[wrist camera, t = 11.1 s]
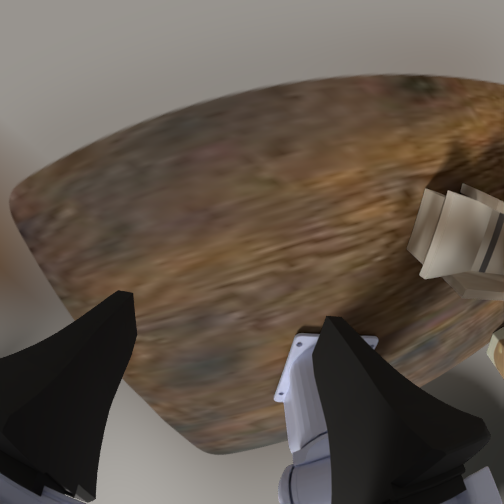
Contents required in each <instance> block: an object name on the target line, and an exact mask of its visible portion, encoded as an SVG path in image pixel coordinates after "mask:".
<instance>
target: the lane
mask: <svg viewBox="0 0 504 504" xmlns="http://www.w3.org/2000/svg"><path fill="white" fill-rule="evenodd" d="M460 193H462V194H465V195H467V196H469V197H467V196H464V195H461V194H458V193H455V192H452V191H449V190H448V192H447V196H445V195H443V194H441V193H439V192H436V191H433V190H430V189H427V188H425V191H424V195H423V198H422V202H421V205H420V209H419V212H418V215H417V219H416V222H415V225H414V228H413V231H412V234H411V237H410V240H409V243H408V246H407V250H408V251H409V252H410V253H411V254H412V255H413V256H414V257H415V258H416V259H417V260H418V261H420V262H421V263H422V264H423V267H422V269H421V272H420V274H419V275H420V276H421V277H422V278H424V279H430V278H436V277H442V278H443V279H444V280H445V281H446V282H447V283H448V284H449V285H450V286H451V287H452V288H453V289H454V290H455V291H456V292H457V293H458V295H459V296H460V297H461V298H468V299H485V300H504V202H503V201H501V200H499V199H497V198H495V197H493V196H491V195H488V194H486V193H484V192H482V191H480V190H477V189H475V188H473V187H470V186H468V185H466V184H463V183H462V187H461V191H460ZM470 197H471V198H470Z"/></svg>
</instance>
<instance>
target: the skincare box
mask: <svg viewBox="0 0 504 504" xmlns="http://www.w3.org/2000/svg"><path fill="white" fill-rule="evenodd" d="M487 355H488V356H489V358H490V359H491V361H492V362H493V364H494V365H495V367H496V368H497V369H498V371H499V373H500V374H501V376H502V377H503V379H504V327H502V328H501V329H499V330H498V331H496V332H494V333H493V335H492V338H491V341H490V344H489V347H488V350H487Z"/></svg>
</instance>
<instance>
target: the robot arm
mask: <svg viewBox="0 0 504 504" xmlns="http://www.w3.org/2000/svg"><path fill="white" fill-rule="evenodd" d="M136 337H137V328H136V319H135V309H134V298H133V293H131V292H125V291H119V290H118V291H116V292H115V293H113V294H112V295H111V296H109V297H108V298H106V299H105V300H104V301H102V302H101V303H100V304H98V305H97V306H96V307H94V308H93V309H91V310H90V311H89V312H87V313H86V314H84V315H83V316H82V317H80V318H79V319H77V320H76V321H74V322H73V323H71V324H70V325H68V326H67V327H65V328H64V329H62V330H60V331H59V332H58V333H55V334H54V335H52V336H50V337H49V338H47V339H45V340H43V341H41V342H39V343H37V344H35V345H33V346H30V347H28V348H26V349H24V350H21V351H19V352H17V353H14V354H12V355H9V356H6V357H3V358H0V504H86V503H83V502H81V501H78V500H76V499H73V498H77V499H79V500H82V501H85V502H91V501H93V500H95V499H96V483H97V472H98V471H97V470H98V463H99V457H100V450H101V445H102V440H103V434H104V430H105V426H106V422H107V418H108V414H109V410H110V407H111V404H112V401H113V398H114V396H115V394H116V391H117V389H118V386H119V384H120V381H121V379H122V377H123V374H124V372H125V370H126V367H127V365H128V362H129V360H130V358H131V355H132V351H133V348H134V344H135V341H136ZM378 341H379V340H378V338H377V337H376V336H360V335H359V334H358V333H357V332H356V331H355V330H354V329H353V328H352V327H351V326H350V325H349V324H348V323H347V322H346V321H345V320H344V319H343V318H342V317H333V316H326V319H325V322H324V324H323V327H322V330H321V332H320V334H310V333H299V334H297V335H295V337H294V340H293V343H292V346H291V349H290V352H289V355H288V358H287V361H286V364H285V367H284V370H283V373H282V376H281V378H280V381H279V384H278V387H277V389H276V392H275V395H274V400H275V401H276V402H284V409H285V418H286V426H287V434H288V442H289V447H290V450H291V452H292V455H293V463H294V464H292V465H289V466H287V467H286V469H285V470H284V472H283V474H282V477H281V478H280V481H279V486H278V497H279V503H280V504H503V503H502V500H501V498H500V495H499V492H498V489H497V487H496V484H495V482H494V479H493V478H492V475H491V472H490V470H489V467H484V468H483V469H481V470H479V471H477V472H476V473H474V474H472V475H470V476H468V477H467V478H465V479H464V480H463V478H462V476H461V474H463V473H464V472H465V468H464V465H463V464H464V463H465V462H467V461H468V460H469V459H470V458H472V457H473V456H474V455H475V454H476V453H477V452H478V451H480V450H481V449H482V448H483V447H484V446H485V445H486V444H487V443H488V442H489V440H490V438H491V434H490V432H489V431H488V429H487V427H486V425H485V423H484V421H483V419H481V418H479V417H476V416H473V415H471V414H468V413H465V412H463V411H460V410H458V409H456V408H454V407H452V406H450V405H448V404H445V403H444V402H442V401H440V400H438V399H437V398H435V397H433V396H432V395H430V394H428V393H426V392H425V391H423V390H422V389H421V388H419V387H418V386H416V385H415V384H413V383H412V382H411V381H409V380H408V379H407V378H405V377H404V376H403V375H402V374H400V373H399V372H398V371H397V370H395V369H394V368H393V367H392V366H391V365H390V364H389V363H388V362H386V361H385V360H384V359H383V358H382V357H381V356H380V355H379V354H378V353H377V352H376V351H375V350H374V349H375V347H376V345H377V343H378ZM298 342H301V343H299V344H297V343H298ZM370 345H371V346H370ZM65 494H66V495H68V496H71V497H73V498H71V497H68V496H66V495H65Z"/></svg>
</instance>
